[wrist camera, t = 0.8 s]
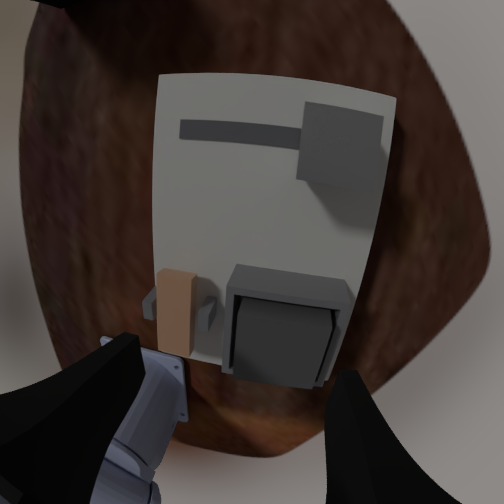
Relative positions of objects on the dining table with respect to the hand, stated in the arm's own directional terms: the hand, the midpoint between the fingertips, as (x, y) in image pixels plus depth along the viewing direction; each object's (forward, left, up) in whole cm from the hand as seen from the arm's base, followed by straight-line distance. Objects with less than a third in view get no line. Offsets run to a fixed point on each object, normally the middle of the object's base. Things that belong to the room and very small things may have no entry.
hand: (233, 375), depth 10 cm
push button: (-2, -2, -6) cm, 7 cm away
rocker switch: (-2, +4, -6) cm, 8 cm away
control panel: (+2, 0, -9) cm, 10 cm away
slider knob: (+8, -3, -7) cm, 11 cm away
